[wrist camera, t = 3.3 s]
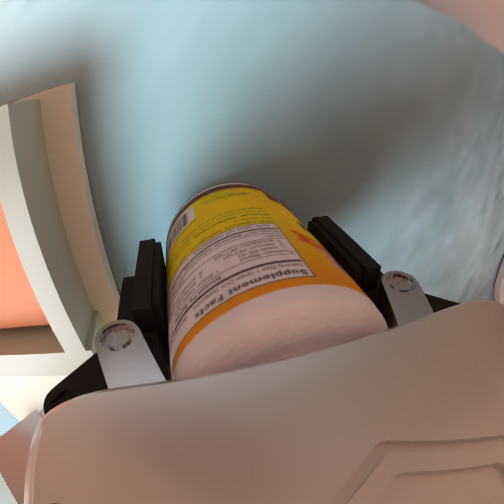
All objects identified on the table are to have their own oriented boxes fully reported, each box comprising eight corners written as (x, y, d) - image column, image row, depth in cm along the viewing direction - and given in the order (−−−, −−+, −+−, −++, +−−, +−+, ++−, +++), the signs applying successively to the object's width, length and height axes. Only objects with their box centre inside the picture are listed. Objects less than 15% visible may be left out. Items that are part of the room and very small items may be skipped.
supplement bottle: (295, 271, 15) (408, 452, 7) (187, 303, 15) (229, 518, 6) (280, 163, 12) (483, 336, 4) (148, 198, 12) (129, 469, 3)
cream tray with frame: (75, 83, 8) (41, 82, 6) (169, 415, 19) (174, 454, 16) (-107, 170, 6) (-141, 193, 3) (26, 418, 17) (20, 451, 14)
